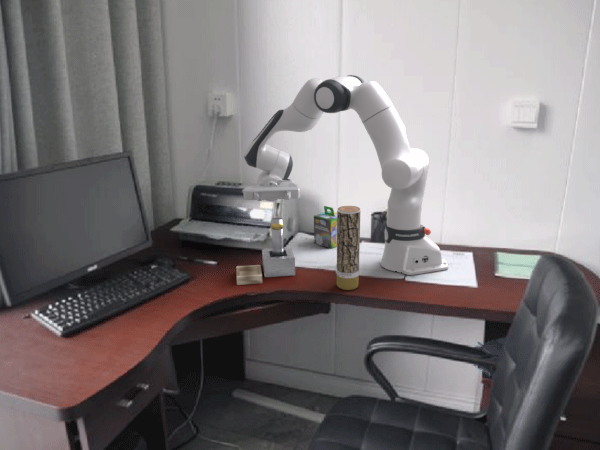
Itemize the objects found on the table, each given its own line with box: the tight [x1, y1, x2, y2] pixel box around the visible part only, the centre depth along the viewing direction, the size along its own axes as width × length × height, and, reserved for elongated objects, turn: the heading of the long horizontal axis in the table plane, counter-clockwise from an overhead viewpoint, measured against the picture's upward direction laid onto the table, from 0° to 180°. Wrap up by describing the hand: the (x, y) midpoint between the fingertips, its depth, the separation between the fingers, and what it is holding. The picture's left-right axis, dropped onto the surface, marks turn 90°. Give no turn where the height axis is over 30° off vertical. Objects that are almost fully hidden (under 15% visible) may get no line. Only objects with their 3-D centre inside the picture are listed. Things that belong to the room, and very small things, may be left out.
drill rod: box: [270, 217, 284, 257], centre depth 165 cm, size 4×4×18 cm
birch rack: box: [235, 264, 263, 286], centre depth 162 cm, size 8×9×3 cm
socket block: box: [261, 247, 296, 278], centre depth 167 cm, size 10×10×6 cm
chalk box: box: [313, 205, 337, 249], centre depth 190 cm, size 9×9×15 cm
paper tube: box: [336, 205, 361, 291], centre depth 152 cm, size 7×7×25 cm
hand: (273, 198), depth 173 cm, fingers open, 8 cm apart
